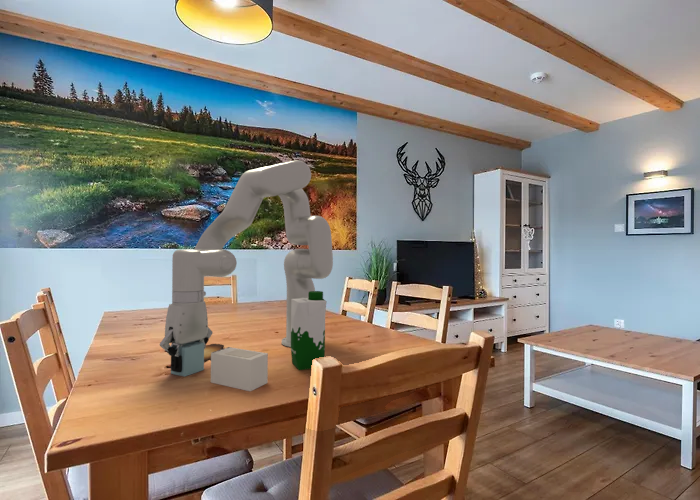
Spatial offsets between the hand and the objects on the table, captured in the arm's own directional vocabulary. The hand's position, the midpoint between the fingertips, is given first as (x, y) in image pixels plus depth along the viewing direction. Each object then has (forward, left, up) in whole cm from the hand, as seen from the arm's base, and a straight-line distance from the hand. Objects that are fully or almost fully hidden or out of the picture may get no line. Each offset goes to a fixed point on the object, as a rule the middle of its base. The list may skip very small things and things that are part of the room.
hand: (187, 366), depth 97 cm
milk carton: (-19, +24, -1) cm, 31 cm away
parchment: (-12, -9, -2) cm, 15 cm away
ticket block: (0, +17, -1) cm, 17 cm away
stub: (0, 0, -1) cm, 1 cm away
